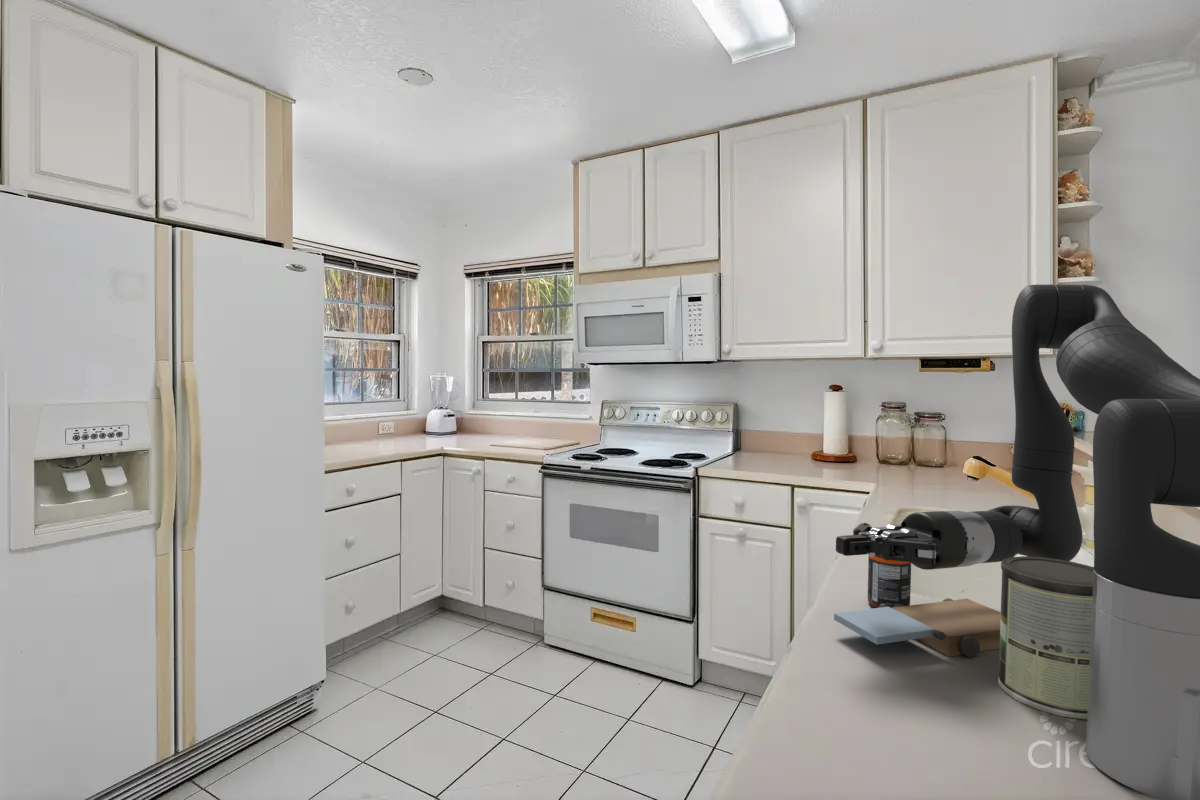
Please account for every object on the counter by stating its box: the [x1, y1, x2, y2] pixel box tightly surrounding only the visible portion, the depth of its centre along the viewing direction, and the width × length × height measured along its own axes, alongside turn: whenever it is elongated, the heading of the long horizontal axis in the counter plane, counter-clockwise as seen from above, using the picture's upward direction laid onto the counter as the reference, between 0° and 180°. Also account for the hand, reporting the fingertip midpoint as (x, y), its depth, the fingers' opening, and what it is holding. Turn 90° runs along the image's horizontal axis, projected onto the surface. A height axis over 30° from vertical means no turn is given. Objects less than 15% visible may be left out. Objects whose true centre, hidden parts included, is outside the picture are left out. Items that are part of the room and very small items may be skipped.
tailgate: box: [833, 607, 935, 646], centre depth 80 cm, size 8×1×9 cm
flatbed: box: [879, 597, 1001, 659], centre depth 83 cm, size 12×15×3 cm
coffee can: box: [997, 555, 1094, 721], centre depth 67 cm, size 10×10×14 cm
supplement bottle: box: [867, 555, 912, 608], centre depth 93 cm, size 6×6×11 cm
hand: (840, 546), depth 77 cm, fingers closed
